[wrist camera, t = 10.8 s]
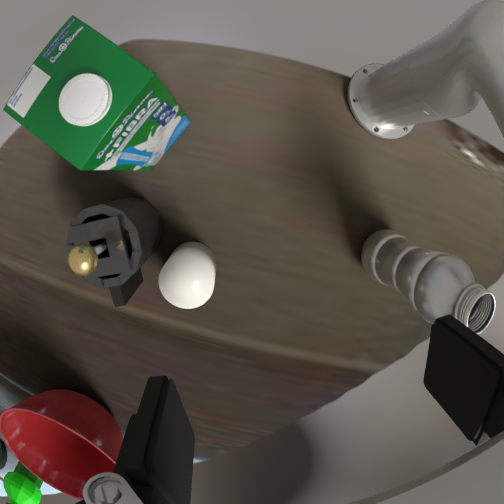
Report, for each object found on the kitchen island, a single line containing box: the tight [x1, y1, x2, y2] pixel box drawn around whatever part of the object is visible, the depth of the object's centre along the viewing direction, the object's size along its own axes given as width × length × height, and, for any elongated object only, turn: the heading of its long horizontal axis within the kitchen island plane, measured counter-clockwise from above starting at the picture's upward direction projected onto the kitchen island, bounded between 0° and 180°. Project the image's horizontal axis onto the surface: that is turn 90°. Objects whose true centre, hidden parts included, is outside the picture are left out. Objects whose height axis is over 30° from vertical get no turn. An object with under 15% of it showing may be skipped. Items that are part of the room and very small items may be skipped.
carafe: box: [66, 196, 162, 307], centre depth 38 cm, size 9×12×13 cm
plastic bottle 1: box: [4, 461, 43, 504], centre depth 43 cm, size 10×10×25 cm
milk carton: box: [3, 16, 191, 171], centre depth 28 cm, size 9×9×25 cm
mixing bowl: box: [0, 389, 124, 500], centre depth 44 cm, size 28×28×16 cm
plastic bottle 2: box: [361, 230, 496, 334], centre depth 35 cm, size 8×8×25 cm
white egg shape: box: [159, 242, 216, 309], centre depth 42 cm, size 7×7×8 cm
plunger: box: [68, 225, 133, 276], centre depth 33 cm, size 6×6×16 cm
